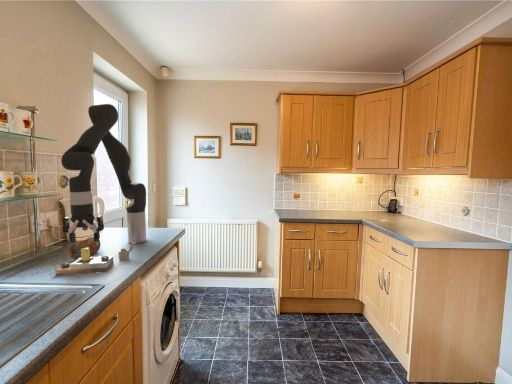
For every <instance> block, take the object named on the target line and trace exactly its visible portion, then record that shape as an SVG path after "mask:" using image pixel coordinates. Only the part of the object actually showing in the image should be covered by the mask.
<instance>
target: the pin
mask: <svg viewBox="0 0 512 384" xmlns="http://www.w3.org/2000/svg"><path fill="white" fill-rule="evenodd" d="M90 257H91V256H90V248H82V249H81V259H82V263H86V262H90Z"/></svg>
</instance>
